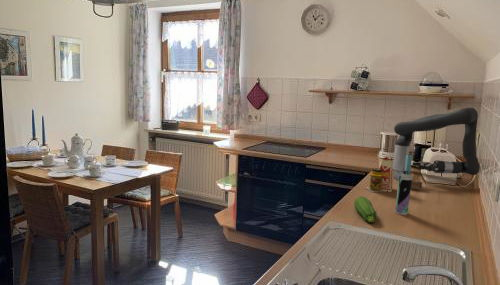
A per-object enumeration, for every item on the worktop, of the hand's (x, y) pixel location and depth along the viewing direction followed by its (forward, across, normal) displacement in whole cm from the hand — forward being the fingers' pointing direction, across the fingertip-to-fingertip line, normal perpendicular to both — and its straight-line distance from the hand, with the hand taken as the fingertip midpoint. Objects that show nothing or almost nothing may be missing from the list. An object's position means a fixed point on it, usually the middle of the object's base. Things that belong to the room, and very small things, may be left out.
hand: (415, 165), depth 229 cm
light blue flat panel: (+4, -3, +10) cm, 11 cm away
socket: (+4, +11, +11) cm, 16 cm away
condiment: (+29, +18, +11) cm, 36 cm away
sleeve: (+4, -6, +11) cm, 13 cm away
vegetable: (+46, +61, +11) cm, 77 cm away
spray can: (+28, +54, +11) cm, 62 cm away
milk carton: (+23, +15, +11) cm, 30 cm away
